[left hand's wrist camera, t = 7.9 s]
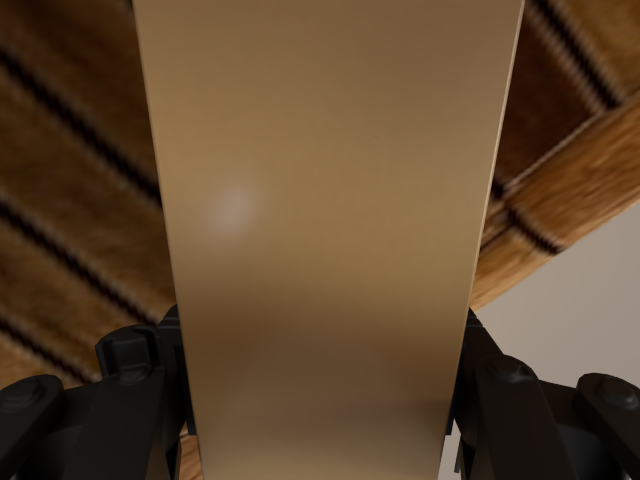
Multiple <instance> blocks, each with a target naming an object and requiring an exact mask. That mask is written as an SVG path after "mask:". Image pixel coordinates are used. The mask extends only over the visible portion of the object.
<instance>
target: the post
mask: <svg viewBox="0 0 640 480" xmlns="http://www.w3.org/2000/svg"><path fill="white" fill-rule="evenodd" d="M132 3H133V10H134V17H135V24H136V30H137V37H138V44H139V51H140V57H141V64H142V71H143V78H144V84H145V91H146V98H147V104H148V111H149V118H150V125H151V131H152V138H153V145H154V152H155V158H156V165H157V172H158V179H159V185H160V192H161V199H162V206H163V212H164V219H165V226H166V232H167V239H168V246H169V253H170V259H171V266H172V273H173V280H174V286H175V293H176V300H177V307H178V313H179V320H180V327H181V334H182V340H183V347H184V354H185V360H186V367H187V374H188V381H189V387H190V394H191V401H192V408H193V414H194V421H195V428H196V435H197V441H198V448H199V455H200V462H201V468H202V475H203V480H437V479H438V473H439V467H440V462H441V457H442V451H443V446H444V440H445V435H446V430H447V424H448V419H449V413H450V408H451V402H452V397H453V391H454V386H455V380H456V375H457V370H458V364H459V359H460V353H461V348H462V342H463V337H464V331H465V326H466V320H467V315H468V310H469V304H470V299H471V293H472V288H473V282H474V277H475V271H476V266H477V260H478V255H479V250H480V244H481V239H482V233H483V228H484V222H485V217H486V211H487V206H488V200H489V195H490V190H491V184H492V179H493V173H494V168H495V162H496V157H497V151H498V146H499V140H500V135H501V129H502V124H503V119H504V113H505V108H506V102H507V97H508V91H509V86H510V80H511V75H512V69H513V64H514V59H515V53H516V48H517V42H518V37H519V31H520V26H521V20H522V15H523V9H524V4H525V0H132Z"/></svg>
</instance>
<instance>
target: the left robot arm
mask: <svg viewBox="0 0 640 480" xmlns="http://www.w3.org/2000/svg"><path fill="white" fill-rule="evenodd" d="M95 350H96V354H97V357H98V361H99V365H100V369H101V372H102V376H103V378H102V380H101V381H100V382H96V383H93V384H88V385H84V386H79V387H75V388H70V389H66V390H64V387H63V384H62V381H61V380H60V379H59V378H58V377H57V376H54V375H47V374H44V375H37V376H31V377H28V378H24V379H22V380H19V381H17V382H15V383H13V384H11V385H9V386H7V387H5V388H3V389H2V390H1V391H0V480H10V479H11V480H179V472H180V462H181V452H182V448H181V442H180V436H179V434H180V432H181V430H182V427H183V425H184V422H185V420H186V422H187V428H188V434H189V435H196V428H195V421H194V414H193V408H192V401H191V394H190V387H189V381H188V374H187V367H186V360H185V354H184V347H183V340H182V334H181V327H180V320H179V313H178V307H177V304H176V305H174V306H173V307H171V308H170V309H169V311H168V312H167V314H166V315H165V316H164V318H163V320H162V321H161V322H160V323H159V325H158V326H157V328H156V327H155V326H150V325H146V324H142V325H131V326H127V327H122V328H120V329H117V330H115V331H113V332H110V333H109V334H107V335H106V336H104V337H103V338H101V339H100V340H99V342H98V343H97V344H96V345H95ZM454 419H455V421H456V424H457V426H458V428H459V431H460V433H461V436H460V442H459V447H458V452H457V458H456V463H455V470H454V472H456V473H459V470H460V471H461V480H629V478H631V479H632V480H640V389H639V388H638V387H636V386H635V385H633V384H631V383H629V382H627V381H625V380H623V379H620V378H618V377H614V376H611V375H608V374H600V373H589V374H584V375H583V376H582V377H580V378H579V380H578V383H577V386H576V388H572V387H568V386H563V385H559V384H554V383H549V382H546V381H542V380H539V379H538V377H537V376H536V374H535V373H534V371H533V370H532V369H531V368H530V367H529V366H527V365H526V364H525V363H524V362H522V361H520V360H518V359H516V358H514V357H512V356H508V355H504V354H503V353H502V351H501V350H500V349H499V347H498V346H497V344H496V343H495V342H494V340H493V339H492V337H491V336H490V335H489V333H488V332H487V331H486V329H485V328H484V327H483V325H482V324H481V322H480V321H479V319H477V317H476V315H475V314H474V312H473V311H472V310H471V308H470V307H469V310H468V315H467V320H466V326H465V331H464V337H463V342H462V348H461V353H460V359H459V364H458V370H457V375H456V380H455V386H454V391H453V397H452V402H451V408H450V413H449V419H448V424H447V430H446V435H451V432H452V427H453V421H454Z"/></svg>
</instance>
